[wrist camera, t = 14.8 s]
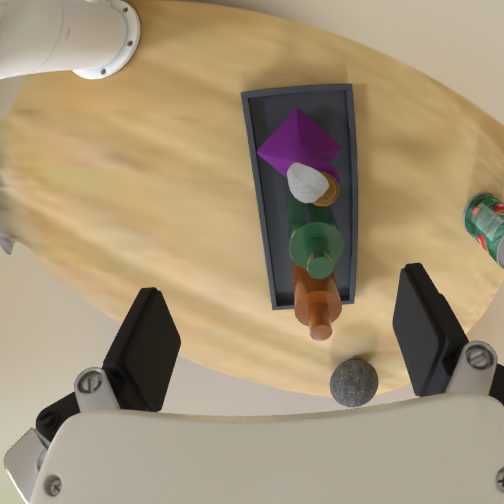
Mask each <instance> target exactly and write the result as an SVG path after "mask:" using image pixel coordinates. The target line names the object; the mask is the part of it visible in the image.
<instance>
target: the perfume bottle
mask: <svg viewBox="0 0 504 504" xmlns="http://www.w3.org/2000/svg"><path fill="white" fill-rule="evenodd" d="M341 150H342V147H341V146H340V145H339V144H338V143H337V142H336V141H335V140H334V139H333V138H331V137H330V136H329V135H328V134H327V133H326V132H325V131H324V130H323V129H322V128H321V127H320V126H318V125H317V124H316V123H315V122H314V121H313V120H312V119H311V118H310V117H308V116H307V115H306V114H305V113H304V112H303V111H302V110H300V109H299V108H295V109H294V110H293V112H292V113H291V114H290V115H289V116H288V117H287V118H286V119H285V120H284V121H283V122H282V123H281V125H280V126H279V127H278V128H277V129H276V130H275V131H274V132H273V133H272V134H271V136H270V137H269V138H268V139H267V140H266V141H265V142H264V143H263V145H262V146H261V147H260V148H259V149H258V150H257V154H258V155H260V156H261V157H262V158H263V159H265V160H266V161H267V162H268V163H269V164H271V165H272V166H273V167H274V168H276V169H277V170H278V171H279V172H280V173H282V174H283V175H284V176H285V177H286V178H287V179H288V184H289V187H290V191H291V192H292V194H293V195H294V197H295V198H296V199H298V200H299V201H301V202H304V203H313V204H315V205H316V206H327V205H330V204H332V203H334V201H335V200H336V198H337V197H338V194H339V184H340V177H339V174H338V172H337V170H336V168H335V167H333V166H332V165H330V164H329V163H330V162H331V161H332V160H333V159H334V158H335V157H336V156H337V155H338V154H339V153H340V151H341Z"/></svg>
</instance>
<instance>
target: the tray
mask: <svg viewBox="0 0 504 504" xmlns="http://www.w3.org/2000/svg"><path fill="white" fill-rule="evenodd" d="M241 98H242V105H243V111H244V117H245V124H246V130H247V137H248V143H249V150H250V157H251V163H252V170H253V177H254V183H255V190H256V197H257V204H258V211H259V218H260V224H261V231H262V238H263V245H264V252H265V260H266V267H267V274H268V281H269V288H270V296H271V303H272V310H282V309H294V292H293V272H292V260H293V259H292V258H291V256H290V252H289V239H288V219H287V204H288V201H289V199H290V197H291V196H292V195H293V194H292V192H291V191H290V187H289V184H288V179H287V178H286V177H285V176H284V175H283V174H282V173H280V172H279V171H278V170H277V169H276V168H274V167H273V166H272V165H271V164H269V163H268V162H267V161H266V160H265V159H263V158H262V157H261V156H260V155H258V154H257V150H258V149H259V148H260V147H261V146H262V145H263V143H264V142H265V141H266V140H267V139H268V138H269V137H270V136H271V134H272V133H273V132H274V131H275V130H276V129H277V128H278V127H279V126H280V125H281V123H282V122H283V121H284V120H285V119H286V118H287V117H288V116H289V115H290V114H291V113H292V112H293V110H294V109H295V108H299V109H300V110H302V111H303V112H304V113H305V114H306V115H307V116H308V117H310V118H311V119H312V120H313V121H314V122H315V123H316V124H317V125H318V126H320V127H321V128H322V129H323V130H324V131H325V132H326V133H327V134H328V135H329V136H330V137H331V138H333V139H334V140H335V141H336V142H337V143H338V144H339V145H340V146H341V147H342V150H341V151H340V153H339V154H338V155H337V156H336V157H335V158H334V159H333V160H332V161H331V162H330V163H329V164H330V165H332V166H333V167H335V168H336V170H337V172H338V174H339V177H340V184H339V194H338V197H337V198H336V200H335V201H334V203H332V204H330V206H331V209H332V211H333V214H334V217H335V219H336V222H337V225H338V227H339V230H340V233H341V236H342V238H343V243H344V247H343V252H342V254H341V256H340V258H339V259H338V261H337V262H336V263H334V264H333V266H334V268H333V270H334V274H335V278H336V283H337V287H338V291H339V295H340V300H341V304H342V305H344V304H354V298H355V284H356V266H357V239H358V172H357V146H356V128H355V114H354V102H353V91H352V84H327V85H308V86H295V87H283V88H273V89H264V90H256V91H249V92H242V93H241Z"/></svg>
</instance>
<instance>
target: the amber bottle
mask: <svg viewBox="0 0 504 504" xmlns="http://www.w3.org/2000/svg"><path fill="white" fill-rule="evenodd" d="M292 272H293V292H294V313H295V316H296V318H297V319H298V321H299V322H301V323H302V324H304V325H306V326H309V329H310V336H311V337H312V338H313V339H314V340H325V339H327V338H329V337H330V336H331V334H332V327H331V323H332V322H334V321H335V320H336V319H337V318H338V317H339V315H340V313H341V310H342V304H341V300H340V295H339V291H338V287H337V283H336V278H335V274H334V270H333V271H332V273H331V274H330V275H329V276H328V277H326V278H323V279H316V278H313V277H312V276H310V275H309V273H308V271H307V269H304V268H302V267H300V266H298V265H297V264H296V263H295V262H294V261H293V260H292Z"/></svg>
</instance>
